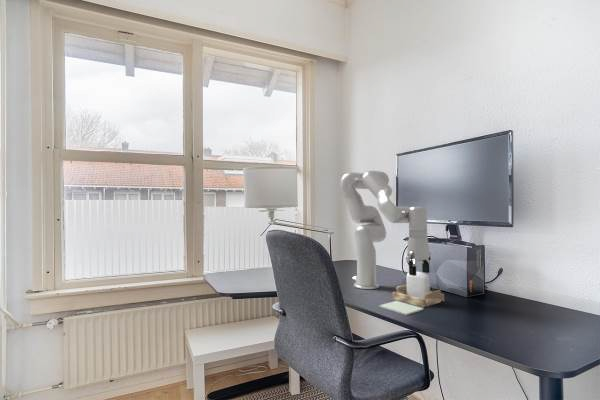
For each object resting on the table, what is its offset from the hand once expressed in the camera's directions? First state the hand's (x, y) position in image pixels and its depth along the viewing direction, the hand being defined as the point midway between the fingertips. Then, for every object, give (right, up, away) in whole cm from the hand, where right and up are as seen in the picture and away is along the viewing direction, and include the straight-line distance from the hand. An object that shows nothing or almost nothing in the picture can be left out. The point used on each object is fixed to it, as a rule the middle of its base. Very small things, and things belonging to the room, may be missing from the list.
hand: (419, 273), depth 146 cm
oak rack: (0, -12, 0) cm, 12 cm away
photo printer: (0, -12, 0) cm, 12 cm away
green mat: (-12, -11, -12) cm, 20 cm away
